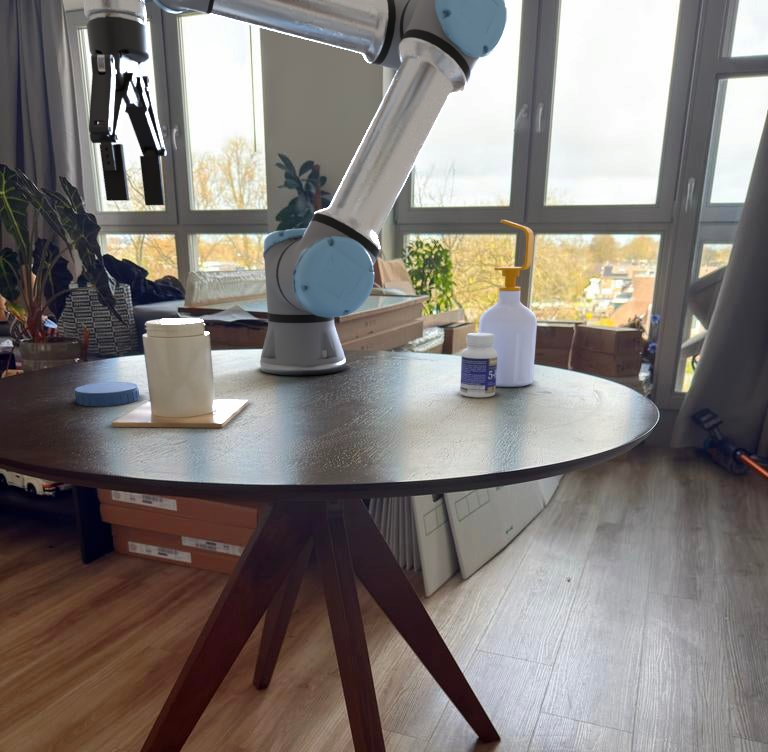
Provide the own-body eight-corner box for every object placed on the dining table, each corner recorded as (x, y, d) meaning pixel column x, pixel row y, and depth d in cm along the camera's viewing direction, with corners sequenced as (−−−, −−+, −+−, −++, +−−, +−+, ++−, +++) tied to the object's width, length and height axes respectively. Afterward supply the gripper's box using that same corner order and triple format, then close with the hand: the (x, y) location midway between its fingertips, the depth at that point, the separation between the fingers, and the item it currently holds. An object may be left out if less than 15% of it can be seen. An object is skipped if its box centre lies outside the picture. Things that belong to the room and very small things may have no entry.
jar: (164, 403, 100) (154, 317, 96) (223, 404, 100) (216, 317, 96) (141, 417, 93) (130, 324, 89) (206, 417, 92) (197, 324, 88)
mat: (152, 403, 104) (151, 399, 103) (248, 404, 103) (248, 399, 103) (112, 426, 90) (111, 422, 90) (222, 428, 90) (221, 423, 89)
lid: (76, 408, 100) (74, 395, 100) (76, 397, 108) (74, 384, 107) (141, 403, 103) (140, 390, 103) (137, 392, 111) (135, 380, 110)
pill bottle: (494, 398, 105) (497, 336, 102) (458, 397, 106) (460, 336, 103) (496, 391, 110) (499, 332, 107) (462, 390, 111) (464, 331, 108)
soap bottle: (484, 376, 123) (491, 220, 114) (537, 379, 120) (549, 220, 111) (470, 385, 115) (476, 219, 106) (527, 389, 112) (538, 218, 103)
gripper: (104, -10, 80) (129, 197, 88) (177, 46, 104) (192, 206, 111) (39, -8, 81) (69, 198, 88) (126, 47, 104) (144, 207, 112)
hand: (137, 203), depth 100 cm, fingers open, 13 cm apart
